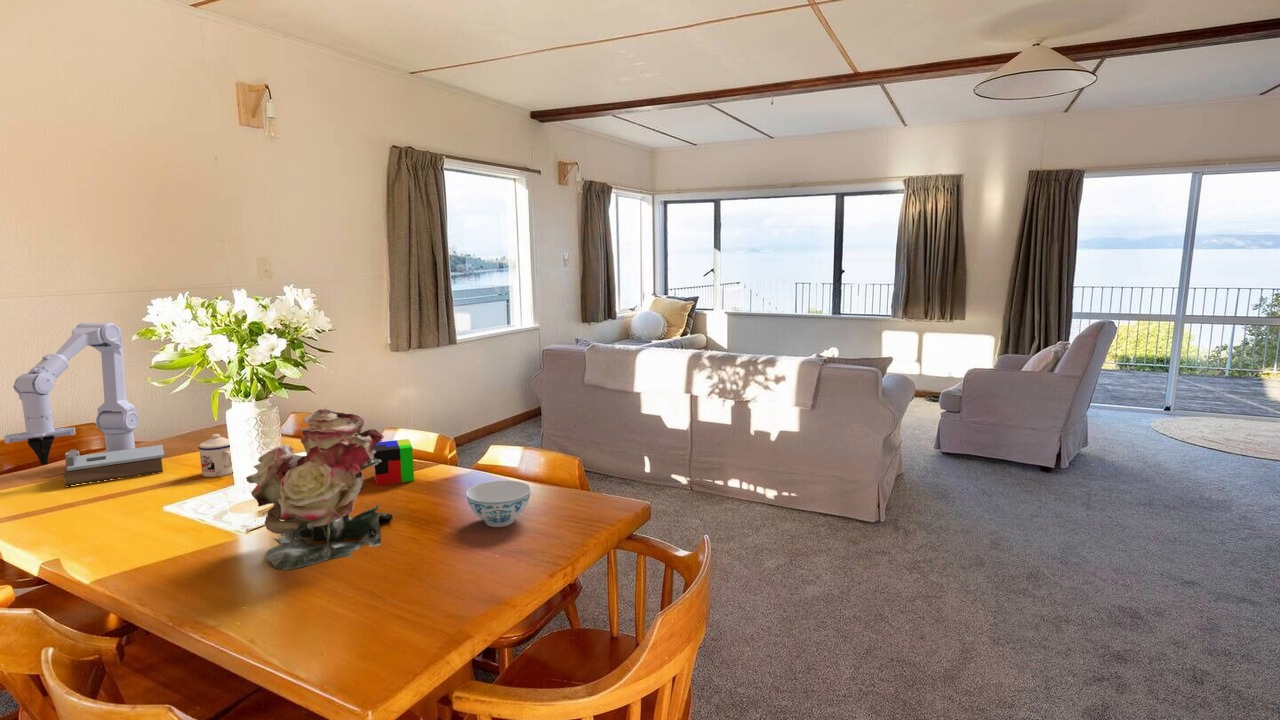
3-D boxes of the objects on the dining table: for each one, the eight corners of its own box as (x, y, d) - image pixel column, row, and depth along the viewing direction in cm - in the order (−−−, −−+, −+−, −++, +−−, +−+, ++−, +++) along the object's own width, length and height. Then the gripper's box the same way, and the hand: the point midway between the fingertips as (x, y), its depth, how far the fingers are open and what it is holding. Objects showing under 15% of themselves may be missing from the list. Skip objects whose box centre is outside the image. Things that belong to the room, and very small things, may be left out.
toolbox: (69, 475, 195) (67, 461, 194) (161, 461, 208) (160, 448, 207) (65, 487, 184) (63, 472, 183) (162, 472, 197) (161, 458, 196)
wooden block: (68, 472, 198) (65, 452, 197) (81, 470, 200) (79, 450, 199) (67, 474, 195) (64, 454, 195) (80, 472, 197) (78, 453, 196)
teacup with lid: (194, 474, 195) (190, 436, 193) (226, 466, 202) (223, 429, 201) (217, 481, 189) (213, 441, 187) (249, 472, 196) (246, 434, 195)
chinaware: (517, 536, 149) (516, 503, 148) (456, 531, 152) (454, 499, 151) (540, 512, 163) (539, 482, 162) (484, 508, 166) (482, 478, 165)
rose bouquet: (258, 532, 152) (247, 404, 147) (394, 514, 162) (387, 394, 158) (237, 581, 128) (223, 430, 124) (397, 556, 139) (389, 417, 135)
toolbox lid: (71, 459, 194) (69, 448, 194) (162, 447, 208) (161, 436, 207) (67, 471, 183) (65, 459, 183) (164, 457, 196) (163, 446, 196)
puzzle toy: (374, 476, 193) (372, 442, 191) (410, 471, 197) (408, 438, 195) (376, 486, 184) (374, 451, 182) (414, 481, 188) (412, 447, 186)
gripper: (-1, 422, 176) (6, 472, 177) (71, 415, 184) (77, 462, 186) (4, 417, 181) (10, 465, 183) (73, 410, 190) (79, 456, 192)
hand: (44, 463), depth 185 cm, fingers closed
